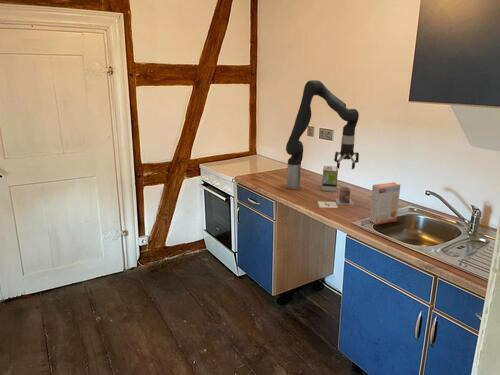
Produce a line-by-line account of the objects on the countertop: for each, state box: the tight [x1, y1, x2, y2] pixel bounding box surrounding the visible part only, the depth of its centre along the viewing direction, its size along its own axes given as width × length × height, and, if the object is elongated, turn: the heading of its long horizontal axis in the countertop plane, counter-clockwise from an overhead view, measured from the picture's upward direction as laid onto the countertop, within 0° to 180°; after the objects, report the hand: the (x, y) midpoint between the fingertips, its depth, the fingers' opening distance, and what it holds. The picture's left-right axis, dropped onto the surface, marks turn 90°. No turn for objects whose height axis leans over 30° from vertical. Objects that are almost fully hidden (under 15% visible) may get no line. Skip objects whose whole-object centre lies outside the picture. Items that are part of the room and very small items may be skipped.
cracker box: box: [369, 181, 401, 225], centre depth 201 cm, size 14×6×21 cm, turn 111°
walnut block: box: [338, 186, 351, 203], centre depth 235 cm, size 5×7×8 cm
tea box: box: [321, 165, 339, 192], centre depth 263 cm, size 15×10×15 cm
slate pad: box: [334, 197, 355, 206], centre depth 236 cm, size 10×12×1 cm
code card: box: [317, 201, 339, 209], centre depth 231 cm, size 11×11×1 cm
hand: (345, 168), depth 231 cm, fingers open, 8 cm apart
